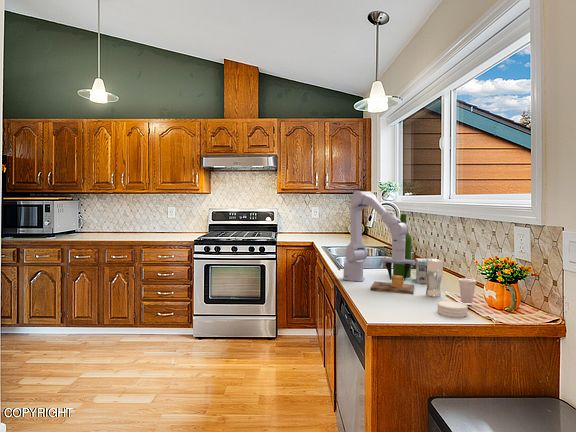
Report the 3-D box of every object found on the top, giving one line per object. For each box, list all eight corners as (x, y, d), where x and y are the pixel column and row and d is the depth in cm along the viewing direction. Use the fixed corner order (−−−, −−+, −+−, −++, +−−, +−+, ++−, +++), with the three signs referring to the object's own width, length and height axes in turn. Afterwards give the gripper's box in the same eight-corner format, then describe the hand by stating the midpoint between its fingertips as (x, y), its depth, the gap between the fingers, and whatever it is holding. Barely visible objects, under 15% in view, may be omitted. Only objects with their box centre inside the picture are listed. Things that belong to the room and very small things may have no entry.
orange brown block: (391, 287, 177) (391, 276, 177) (392, 284, 182) (392, 275, 182) (402, 288, 176) (402, 277, 176) (403, 285, 180) (403, 275, 180)
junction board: (370, 290, 176) (370, 280, 176) (374, 283, 189) (374, 275, 189) (413, 293, 170) (413, 284, 170) (414, 287, 183) (414, 278, 183)
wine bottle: (396, 273, 215) (398, 213, 214) (413, 276, 210) (414, 214, 209) (390, 276, 208) (392, 214, 207) (407, 278, 203) (409, 214, 201)
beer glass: (441, 294, 170) (442, 259, 170) (442, 298, 164) (443, 261, 163) (424, 292, 173) (425, 258, 172) (424, 296, 166) (425, 260, 165)
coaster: (473, 315, 140) (473, 305, 140) (456, 319, 135) (456, 309, 135) (448, 308, 149) (448, 299, 149) (431, 312, 143) (431, 302, 143)
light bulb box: (432, 284, 191) (433, 261, 191) (417, 283, 192) (418, 261, 192) (429, 279, 202) (429, 258, 201) (415, 278, 203) (416, 257, 202)
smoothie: (454, 302, 157) (455, 267, 156) (470, 302, 157) (471, 267, 157) (463, 306, 151) (464, 270, 150) (479, 306, 151) (480, 270, 150)
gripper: (380, 249, 177) (380, 280, 177) (415, 251, 172) (414, 283, 173) (382, 248, 183) (381, 277, 184) (415, 249, 179) (414, 280, 179)
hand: (397, 279), depth 179 cm, fingers open, 5 cm apart
